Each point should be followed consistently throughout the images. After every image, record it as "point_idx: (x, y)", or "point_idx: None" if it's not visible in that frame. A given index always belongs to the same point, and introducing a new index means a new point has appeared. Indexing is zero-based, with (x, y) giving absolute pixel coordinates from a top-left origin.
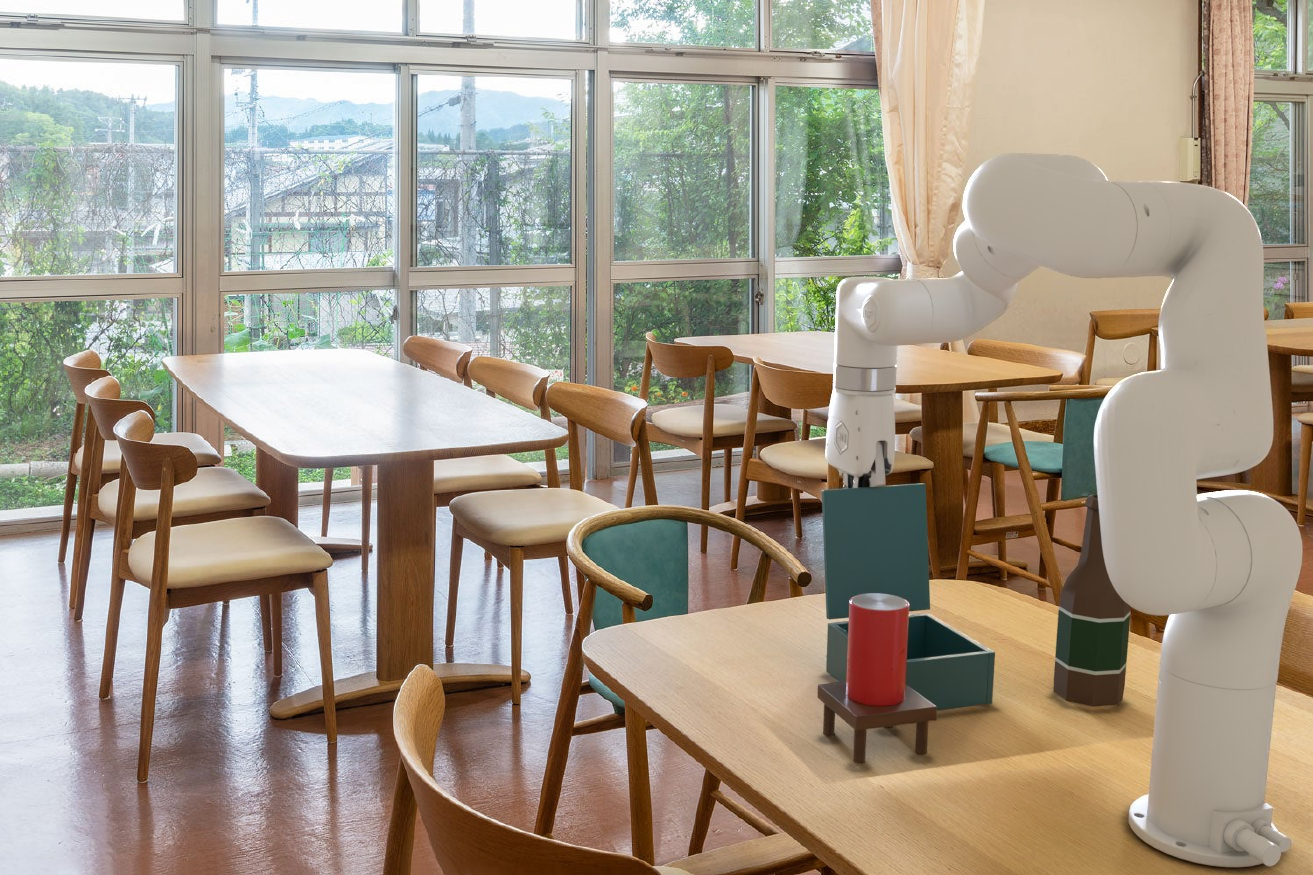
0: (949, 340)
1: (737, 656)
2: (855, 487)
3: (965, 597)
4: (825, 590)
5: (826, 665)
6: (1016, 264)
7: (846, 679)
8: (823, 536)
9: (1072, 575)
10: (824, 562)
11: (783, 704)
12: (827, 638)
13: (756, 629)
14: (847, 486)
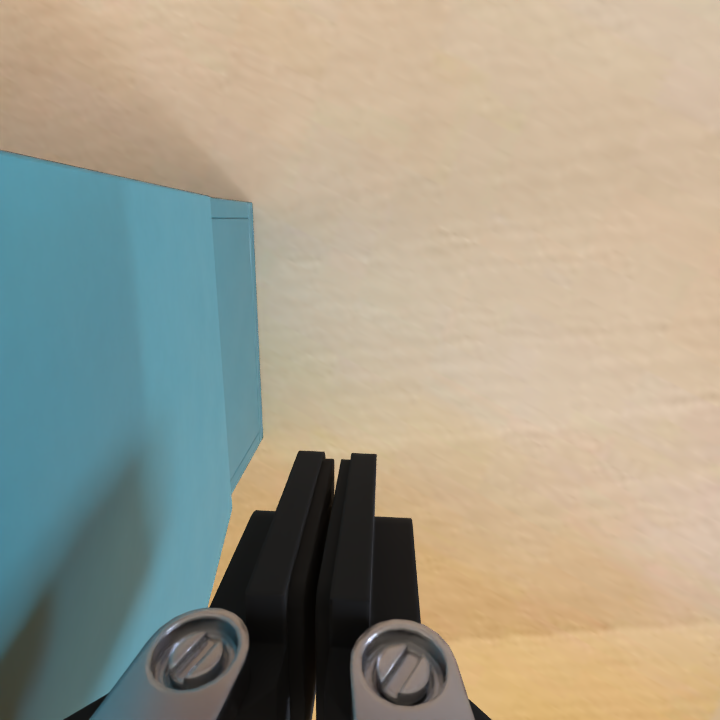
0: None
1: (450, 37)
2: (144, 716)
3: (594, 701)
4: (186, 191)
5: (242, 201)
6: None
7: None
8: (92, 170)
9: None
10: (151, 183)
11: (114, 17)
12: (218, 198)
13: (620, 183)
14: (357, 696)
